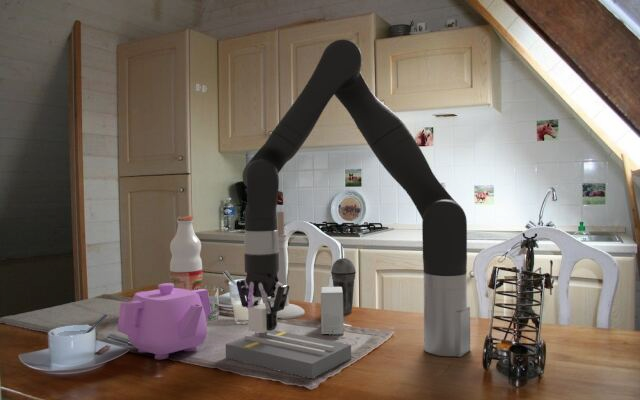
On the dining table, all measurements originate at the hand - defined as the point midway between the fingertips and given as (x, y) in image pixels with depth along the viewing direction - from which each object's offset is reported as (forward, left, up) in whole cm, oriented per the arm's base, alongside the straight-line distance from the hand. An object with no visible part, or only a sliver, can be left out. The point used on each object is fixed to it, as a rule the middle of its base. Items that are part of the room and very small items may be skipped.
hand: (262, 327), depth 116 cm
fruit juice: (+47, -19, -6) cm, 51 cm away
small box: (-3, -23, -6) cm, 24 cm away
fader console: (-7, 0, -6) cm, 9 cm away
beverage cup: (+5, -41, -6) cm, 42 cm away
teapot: (+20, +10, -6) cm, 23 cm away
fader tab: (0, 0, -2) cm, 2 cm away
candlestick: (+19, -30, -6) cm, 36 cm away
